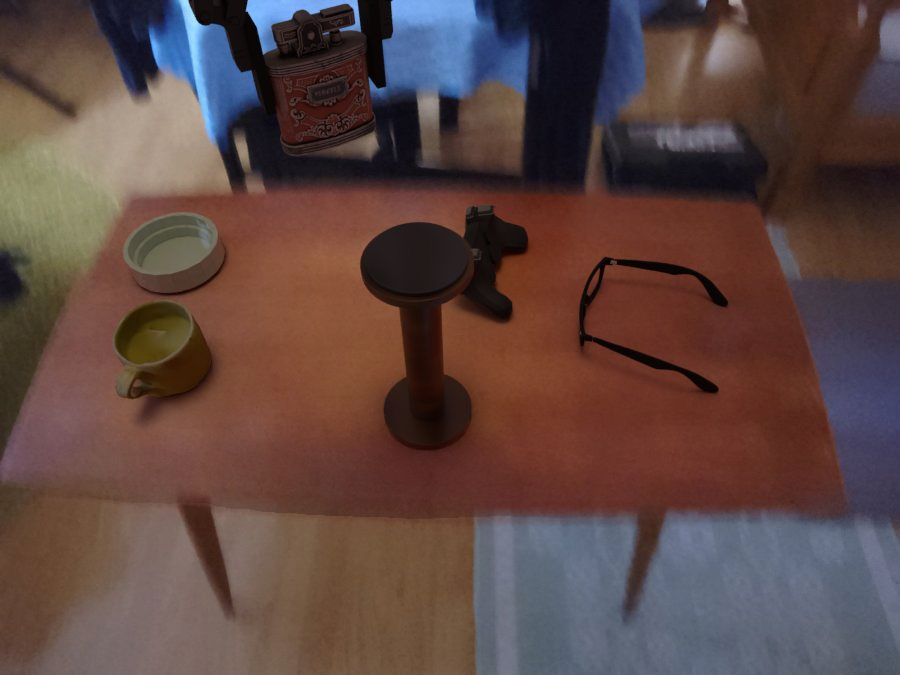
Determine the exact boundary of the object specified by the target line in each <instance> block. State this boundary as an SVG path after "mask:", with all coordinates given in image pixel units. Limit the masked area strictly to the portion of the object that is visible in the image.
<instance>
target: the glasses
mask: <svg viewBox="0 0 900 675" xmlns="http://www.w3.org/2000/svg"><path fill="white" fill-rule="evenodd" d="M615 265H616V266H621V267H627V268H628V267H629V268H634V269H638V270H639V269H641V270H645V271H652V272H657V273H663V274H667V275H671V276H680V275H688V276H693V277H695V278H696V279H697V280H698V281H699V282H700V283H701V284H702V286H703V288H704V289H705V291H706V292H707V294H708V296H709V298H710V299H711V301H712V302H713V303H714V304H715V305H717V306H720V307H727V306H728V305H729V300H728V299H727V297H726V296H725V295H724V294H723V292H722V291H720V289H719V288H718V287H717V285H716V284H715V283H714V282H713V281H712V280H711V279H710V278H708V277H707V276H706V275H704V274H702V273H701V272H699V271H697V270H694V269H691V268H690V267H686V266H684V265H679V264H674V263H667V262H661V261H654V260H653V261H651V260H641V259H640V260H639V259H628V258H627V259H625V258H614V257H610V256H604V257H603V258H602V259H601V260H600V261H599V262H598V263H597V264H596V265H595V267H594V268H593V270H592V271H591V272H590V274H589V276H588V278H587V280H586V282H585V284H584V288H583V290H582V294H581V298H580V301H579V310H578V322H579V346H580V347H584V346H585V342H590V343H594V344H597V345H599V346H601V347H604V348H606V349H608V350H609V351H612V352H614V353H617V354H618V355H622V356H624V357H626V358H628V359H631V360H632V361H635V362H638V363H640V364H642V365H645V366H647V367H649V368H651V369H655V370H658V371H659V370H662V371H672V372H676V373H680V374H681V375H683V376H685V377H686V378H687V379H688V380H689V381H691V382H692V383H693V384H694V385H695V387H697V388H698V389H699V390H701V391H703V392H706V393H712V394H713V393H714V394H715V393H718V392H719V390H720V388H719V387H718V385H716V384H715V383H714V382H712V381H711V380H709V379H707V378H706V377H705V376H702V375H700V374H699V373H697V372H695V371H692V370H689V369H687V368H686V367H685V368H684V367H682V366H679V365H676V364H674V363H671V362H668V361H666V360H663V359H661V358H658V357H655V356H652V355H650V354H647V353H643V352H641V351H638V350H636V349H633V348H629V347H626V346H624V345H620V344H617V343H614V342H611V341H609V340H608V341H607V340H605V339H602V338H599V337H597V336H595V335H591V334H588V333H586V330H585V318H586V315H587V306H588V305H590V304H591V303H592V301H593V300H594V298H595V297H596V295H597V294H598V291H599V290H600V288H601V285H602V282H603V279H604V275H605V271H606V270H605V269H606V266H611V267H612V266H615ZM598 271H599V272H598ZM597 272H598V279H597V282H596V284H595V287H594V289H593V290H592V292H591V294H588V290H589V288H590V285H591V283H592V281H593V279H594V276H595V275H596V273H597Z"/></svg>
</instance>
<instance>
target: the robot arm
mask: <svg viewBox="0 0 900 675" xmlns="http://www.w3.org/2000/svg"><path fill="white" fill-rule="evenodd" d="M187 1H188V2H187V3H188V5H189V8H190V9H191V12H192V14H193V16H194V18H195V20H196V22H197V23H198V24H199V25H201V26H205V27H208V26H210V25H217V26H220V27H222V28H223V30H224V32H225V35H226V40H227V43H228V46H229V50H230V55H231V58H232V60H233V62H234V64H235V66H236V68H237V69H238V70H239V72H240V73H246V72H250V71H251V76H252V79H253V83H254V88H255V92H256V95H257V99H258V101H259V103H260V104H261V107H262V109H263V111H264V113H265V115H266V116H267V117H270V116H274V115H277V111H276V107H275V103H274V98H273V94H272V90H271V85H270V81H269V77H268V73H267V68H266V64H265V60H264V52H263V47H262V43H261V38H260V34H259V30H258V27H257V25H256V23H255V22H254V20H253V17H252V16H251V15H250V13H249V11H247V8H248V3H249V2H248V1H249V0H187ZM393 1H394V0H356V2H357V8H358V9H357V11H358V19H359V27H360V28H359V29H360V32H362V33H363V34H365V36H366V37H367V51H366V58H367V67H368V76H369V80H370V81H371V82H372V84H373V85H374V86H375V88H376V89H377V90H380V89H384V88H386V87H388V86H387V77H386V66H385V65H386V64H385V55H384V45H383V44H384V43H383V41H385V40H389V39H392V37H393V34H394V23H393V22H394V21H393V8H392V2H393Z"/></svg>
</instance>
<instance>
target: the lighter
mask: <svg viewBox="0 0 900 675" xmlns="http://www.w3.org/2000/svg"><path fill="white" fill-rule="evenodd" d="M354 25H356V16H355V9H354V8H353V7H352V6H351V5H350V4H349V3H341V4H337V5H334V6H330V7H326V8H322V9H319V12H315V13H310V12H309V11H308V10H306V9H298V10H296V11H295V12H294V13H293V14H292V17H291V18H290V19H288V20H283V21H280V22H276V23H273V24H271V26H270V29H271V32H272V37H273V41H274V42H275V44H276V48H273V49H271V50H268V51H267V52H265V53H263V55H264V60H265V64H266V68H267V73H268V77H269V81H270V85H271V90H272V94H273V98H274V103H275V107H276V111H277V114H276V116H277V122H278V125H279V130H280V133H281V134H280V136H279V137H280V138H279V140H280V144H281V147H282V148H281V149H282V150H283V152H284V153H285V154H287V155H289V156H293V157H299V156H306V155H311V154H315V153H320V152H324V151H328V150H331V149H334V148H338V147H341V146H343V145H346V144H349V143H351V142H354V141H357V140H359V139H361V138H363V137H366V136H367V135H370V134H372V133H374V132H375V130H376V129H377V119H376V115H375V113H374V112H373V104H372V94H371V87H370V78H369V76H368V67H367V58H366V51H367V37H366V36H365V34H363V33H362V32H361V31H359V30H355V29H347V30H342V29H346V28H349V27H352V26H354Z"/></svg>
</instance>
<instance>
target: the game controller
mask: <svg viewBox="0 0 900 675" xmlns="http://www.w3.org/2000/svg"><path fill="white" fill-rule="evenodd" d="M495 208H496V206H495V205H493V204H479V206H475V205H470V206H467V207H466V208H465V212H464V213H465V214H464V216H465V221H464V234H463V236H462V237H463V238H464V239H465V240H466V242H467V243H468V244H469V246H470V248H471V250H472V252H473V257H474V272H473V276H472V279H471V281H470V283H469V284H468V286H467V287H466V288H465V290H464V291H463V292H462V293H460V294H459V295H462V296H463V297H466V298H467V299H468V300H470V301H472V302H473V303H475V304H476V305H478V306H479V307H481V308H483V309H484V310H486V311H487V312H489V313H490V314H492V315H493V316H495V317H497V318H500V319H502V320H507V319H509V318H510V316H511V314H512V312H513V311H514V308H513V307H514V306H513V301H512V300H511V299H510V298H509V297H508V296H506V295H505V294H503V293H502V292H500V291H499V290H498V289H496V288H495V287H494V286H495V283H496V282H497V273H496V272H497V271H496V268H495V266H494V265H499V264H500V263H501V262H502V256H503V254H502V251H510V252H511V251H513V252H524V251H526V249H527V247H528V246H529V236H528V232H527V229H525V227H524V226H522V225H519V224H515V223H512V222H507V221H505V220H503V219H501V218H500V217H498V216H497V215H496V214H495Z"/></svg>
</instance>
